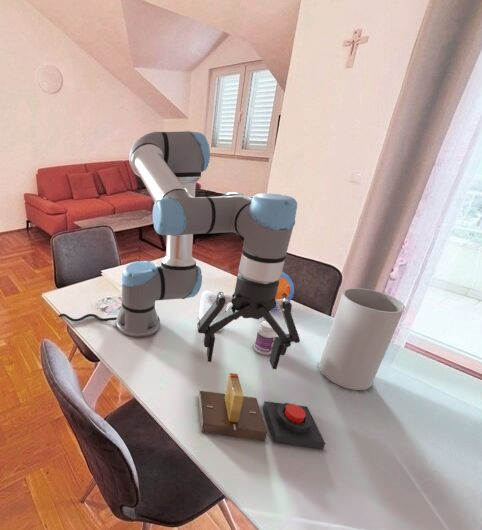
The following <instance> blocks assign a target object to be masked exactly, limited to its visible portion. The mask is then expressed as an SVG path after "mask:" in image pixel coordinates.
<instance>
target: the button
mask: <svg viewBox="0 0 482 530" xmlns="http://www.w3.org/2000/svg"><path fill="white" fill-rule="evenodd" d="M298 405H299V404H298ZM298 405H297V404H295V403H290V404H288V405H287V406H286V409H285V416H286V418H287V419H289V420H290V421H292V422H294V423H298V424H300V423H303V422H304V419H305V416H306V413H305V411H304V410H303V409H302V408H301V407H300V406H301V405H299V406H298Z"/></svg>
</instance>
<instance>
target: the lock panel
mask: <svg viewBox="0 0 482 530" xmlns="http://www.w3.org/2000/svg"><path fill="white" fill-rule="evenodd" d="M243 396H244V398H243V403H242V407H241V411H240V416H239V420H238V422H231V421H229V418H228V413H227V408H226V403H225V393H221V392H216V391H215V392H213V391H207V390H206V391H205V390H199V391H198V399H197V402H198V410H199V411H198V413H199V421H200V430H201V433H205V434H211V435H217V436H224V437H232V438H238V439H245V440H252V441H257V442H266V440H267V436H268V430H267V427H266V423H265V420H264V417H263V414H262V411H261V408H260V405H259V402H258V398H257V397H254V396H248V395H247V396H246V395H243Z"/></svg>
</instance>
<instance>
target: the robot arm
mask: <svg viewBox="0 0 482 530" xmlns="http://www.w3.org/2000/svg"><path fill="white" fill-rule="evenodd" d="M210 160H211V151H210V144H209V141H208V139H207V137H206V136H205V134H203V133H202V132H198V131H191V130H187V131H186V130H185V131H152V132H148V133H146V134H144V135H142V136H141V137H140V138H138V139H137V140H136V141H135V142H134V144H133V145H132V146H131V148H130V151H129V155H128V161H129V162H128V163H129V167H130V168H131V170H132V172H133V173H134V175H136V176H137V177H138V178H140V180H141V181H142V183H143V185H144V186H145V189H146V190H147V192H148V194H149V195H150V197H151V199H152V202H153V203H154V204H153V207H152V223H153V228H154V231H155V232H156V234H158V235H160V236H166V239H165V241H166V243H165V244H166V245H165V247H166V249H165V256H164V257H162V259H161V261H160V263H161V264H160V266H158V265H157V264H156V263H155V262H153V261H147V260H139V261H134V262H131V263H129V264H128V265H127V266H126V265H125V267H124V268H123V270H122V273H121V274H122V275H121V282H120V283H121V306H120V309H119V312H118V314H117V317H107V318H106V317H105V318H103V317H100V316H99V315H98V314H95V313H87V314H85V315H83V316H81V317H79V318H72V317H70V316H69V315H68V314H66V313H60V314H58V316H57V317H58V318H61V317H64V318H66V319H67V320H69V321H71V322H80V321H83V320H85V319H86V318H88V317H90V318H91V317H94V318H95V319H97V320H98V321H101V322H108V321H116V323H115V324H116V328H117V330H118V331H119V332H120V333H121V334H123V335H125V336H128V337H131V338H146V337H150V336H153V335H154V334H156V333H157V332H158V330H159V326H160V321H161V319H160V316H159V315H158V314H157V310H156V301H169V300H185V299H189V298H190V299H191V298H194V297H196V296H197V295H199V293H200V291H201V289H202V284H203V274H202V269H201V267H200V265H198V264H197V260H196V259H195V258H194V257H193V240H194V235H202V234H220V233H221V234H223V233H225V234H226V233H235V234H236V235H238V236H240V237H242V238H243V245H242V250H241V255H240V256H241V257H240V262H239V266H238V273H237V276H236V282H235V286H234V293H233V294H232V295H229V294H224V292H223V291H219V292H217V298H216V301H215V302H214V303H213V305H212V306H211V307H210V308H209V310H208V311H207V312H206V313H205V315H204V316H203V317H202V318H201V320H200V319H199V321H198V322H197V324H196V326H197V327H196V328H197V332H198V334H203V335H204V336H203V346H204V348H206V360H207V362H209V363H211V362H212V359H213V353H214V347H215V341H216V336H215V334H216V333H217V331H219V330H220V329H222V328H223V329H224V328H225V327H226V326H227V325H229V324H230V323H232V322H233V321H234V320H238V319H239V318H240V317H242V318H243V319H253V320H260V319H262V318H263V319H264V321H267V322H268V323H269V325H270V326H271V327H272V329H273V330H274V331H275V332H276V337H275V340H274V344H273V348H272V352H271V353H270V356H269V360H268V362H269V363H270V366H271V368H272V369H273V370H277V369H278V366H279V361H280V358H281V356H285V355H286V353H287V349H288V348H289V347H291V346H292V343H295V344H298V343H300V342H301V339H300V336H299V334H298V330H297V327H296V325H295V322H294V318H293V315H292V307H293V304H292V303H291V300H290V301H289V300H288V298H287V297H283V298H282V299H275V297H276V294H277V290H278V286H279V279H280V278H281V274H282V272H283V269H284V266H285V261H286V255H287V252H288V250H289V245H290V241H291V237H292V234H293V229H294V227H295V225H296V216H297V209H298V201H297V200H296V199H295V198H294V197H292V196H290V195H283V194H279V193H257V194H256V195H254V196H253V197H250V196H248V195H246V194H244V193H242V192H241V193H240V192H238V193H237V192H233V191H232V192H231V191H230V192H229V191H228V192H226V193H224V194H222V195H220V196H196V185H197V184H196V183H197V182H198V181H199V180H201V178H202V173H203V172H205V171H206V170H207V169H208V168H209V164H210ZM229 303H231V304H232V305H230V306H229V307H228V308H227V309H226V312H224V313H223V314H222V315H220V316H219V317H218V318H216V316H217V315H218V314H219V313H220V311H221V310H222V309H223V307H224V306H226V305H227V306H228V304H229ZM276 306H278V309H279V311H281V314H282V317H283V320H284V322H285V325H286V327H287V328H286V329H287V331H288V333H286V332H285V331H284V330H283V328H282V327H281V326H280V325H279V323H278V321H277V320H276V319H275V318H274V316H273V315H272V313H271V311H272V310H275V309H274V308H275V307H276ZM215 318H216V319H215ZM214 319H215V320H214ZM213 320H214V321H213ZM223 329H222V330H223ZM219 332H220V331H219Z"/></svg>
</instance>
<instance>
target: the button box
mask: <svg viewBox="0 0 482 530" xmlns="http://www.w3.org/2000/svg"><path fill="white" fill-rule="evenodd" d="M288 404H291V403H288V402H284V403H283V402H275V401H266V400H264V401H263V406H262V409H263V413H264V415H265V418H266V421H267V425H268V427H269V431H270V434H271V436H272V439H273V443H274V444H279V445H286V446H292V447H293V446H294V447H300V448H305V449H306V448H307V449H314V450H320V451H323V450H324V448H325V445H326V442H325V439H324V438H323V435H322V434H321V432H320V430H319V428H318V426H317V423H316V421H315V420H314V417H313V416H312V414H311V411H310V409H309V407H308V406H306V405H299V404H298V406H300V407H301V408H302V409H303V410H304V411H305V413H306V416H305V419H304V422H303V423H300V424H298V423H294V422H292V421H290V420H289V419H287V418H286V416H285V409H286V406H287V405H288Z"/></svg>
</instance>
